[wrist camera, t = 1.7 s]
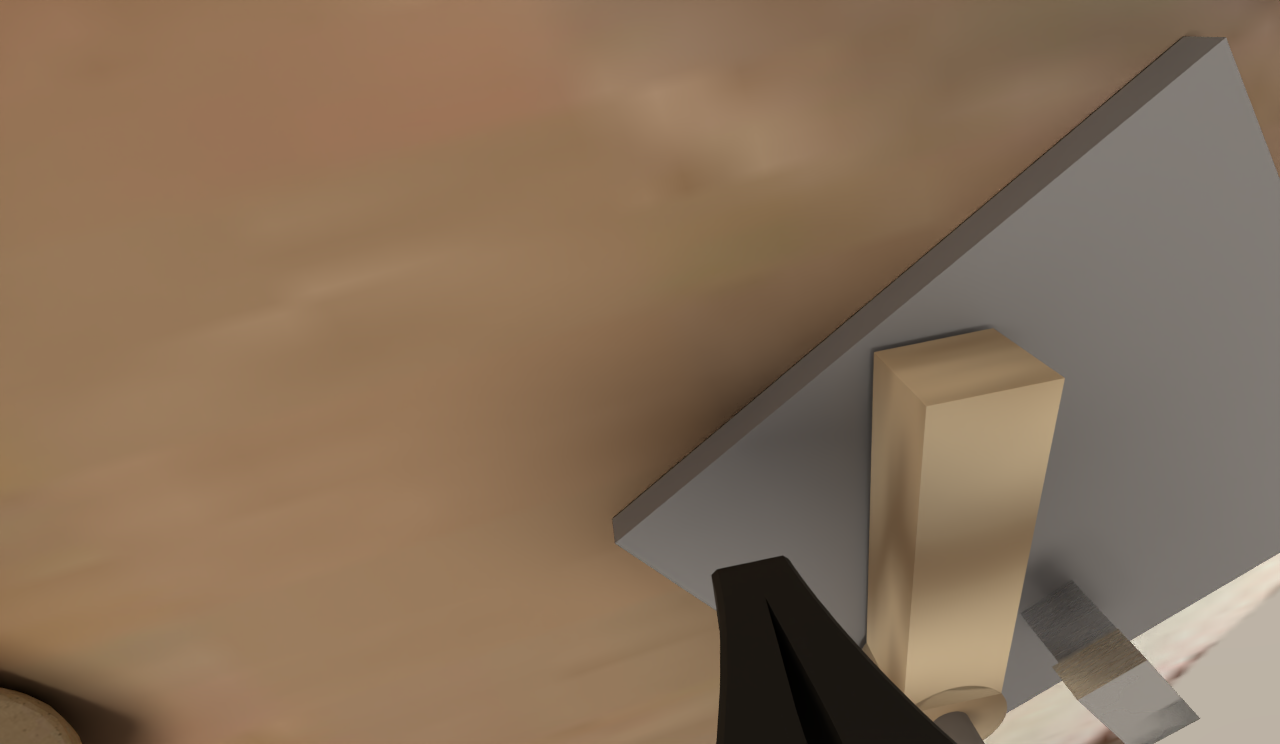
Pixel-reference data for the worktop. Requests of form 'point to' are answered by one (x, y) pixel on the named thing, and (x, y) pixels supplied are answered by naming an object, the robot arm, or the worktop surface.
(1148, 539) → the slate board
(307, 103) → the worktop surface
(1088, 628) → the steel keeper
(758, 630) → the robot arm
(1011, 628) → the oak link
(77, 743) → the ceramic mug
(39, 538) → the worktop surface
